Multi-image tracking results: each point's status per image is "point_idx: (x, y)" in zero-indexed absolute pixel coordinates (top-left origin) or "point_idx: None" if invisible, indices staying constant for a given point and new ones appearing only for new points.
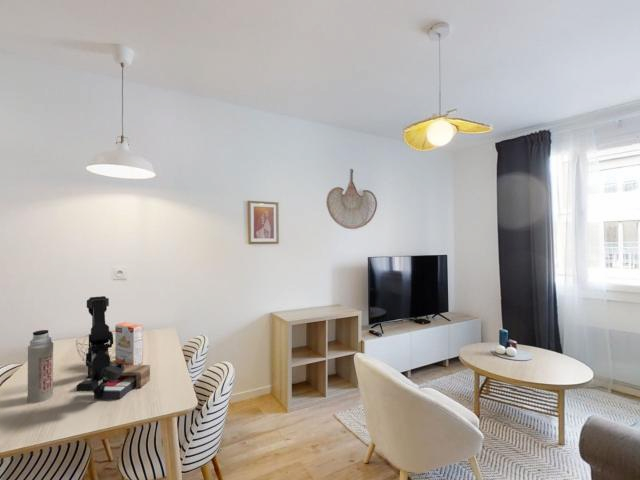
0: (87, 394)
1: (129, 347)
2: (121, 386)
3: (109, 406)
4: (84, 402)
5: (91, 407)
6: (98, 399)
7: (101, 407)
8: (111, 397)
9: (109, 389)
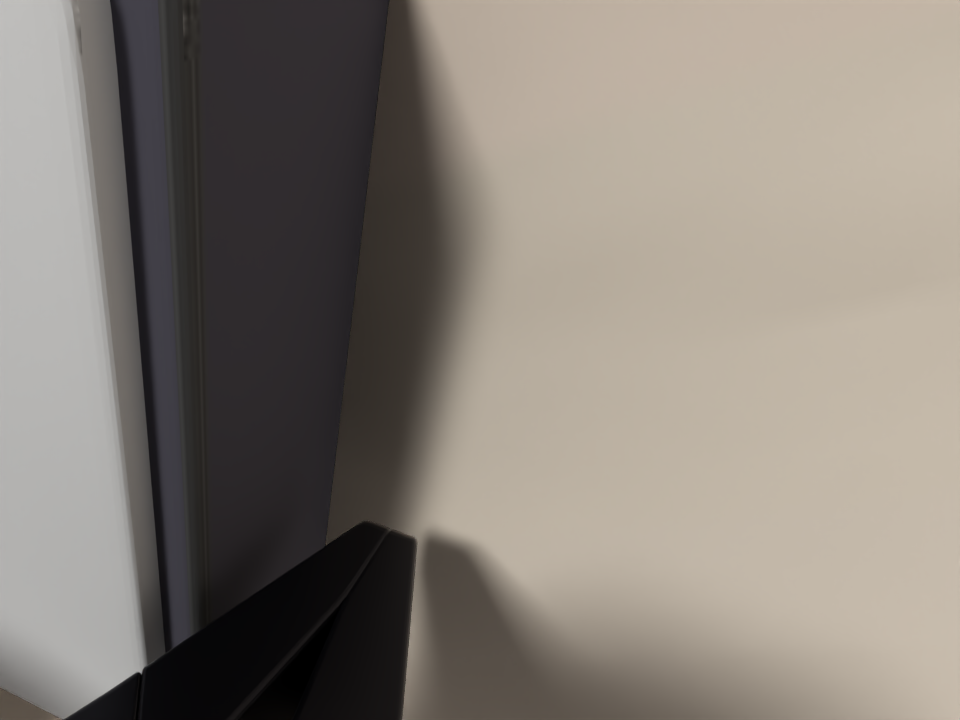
0: None
1: None
2: None
3: (932, 124)
4: (426, 713)
5: (736, 603)
6: (325, 523)
7: (872, 381)
8: (331, 248)
9: (65, 471)
